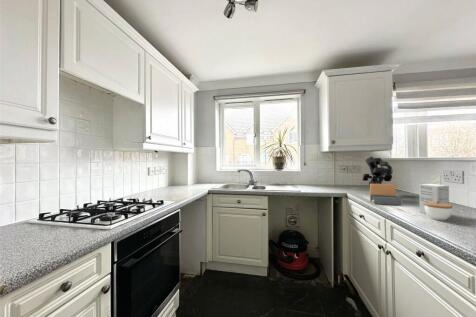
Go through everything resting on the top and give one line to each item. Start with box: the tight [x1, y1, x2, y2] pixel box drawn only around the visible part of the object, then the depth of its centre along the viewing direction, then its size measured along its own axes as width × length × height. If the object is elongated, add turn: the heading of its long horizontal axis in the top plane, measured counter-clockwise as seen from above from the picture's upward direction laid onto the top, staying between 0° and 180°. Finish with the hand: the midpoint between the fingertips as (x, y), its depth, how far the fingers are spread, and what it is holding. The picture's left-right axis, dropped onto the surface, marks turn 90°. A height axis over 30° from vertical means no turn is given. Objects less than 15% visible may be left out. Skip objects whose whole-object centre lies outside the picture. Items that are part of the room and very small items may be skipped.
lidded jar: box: [424, 201, 453, 221], centre depth 108 cm, size 11×11×9 cm
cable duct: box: [369, 194, 402, 206], centre depth 145 cm, size 9×16×5 cm, turn 73°
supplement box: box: [418, 183, 450, 215], centre depth 117 cm, size 10×9×17 cm
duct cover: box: [369, 183, 397, 197], centre depth 149 cm, size 8×16×1 cm
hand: (379, 186), depth 153 cm, fingers closed
